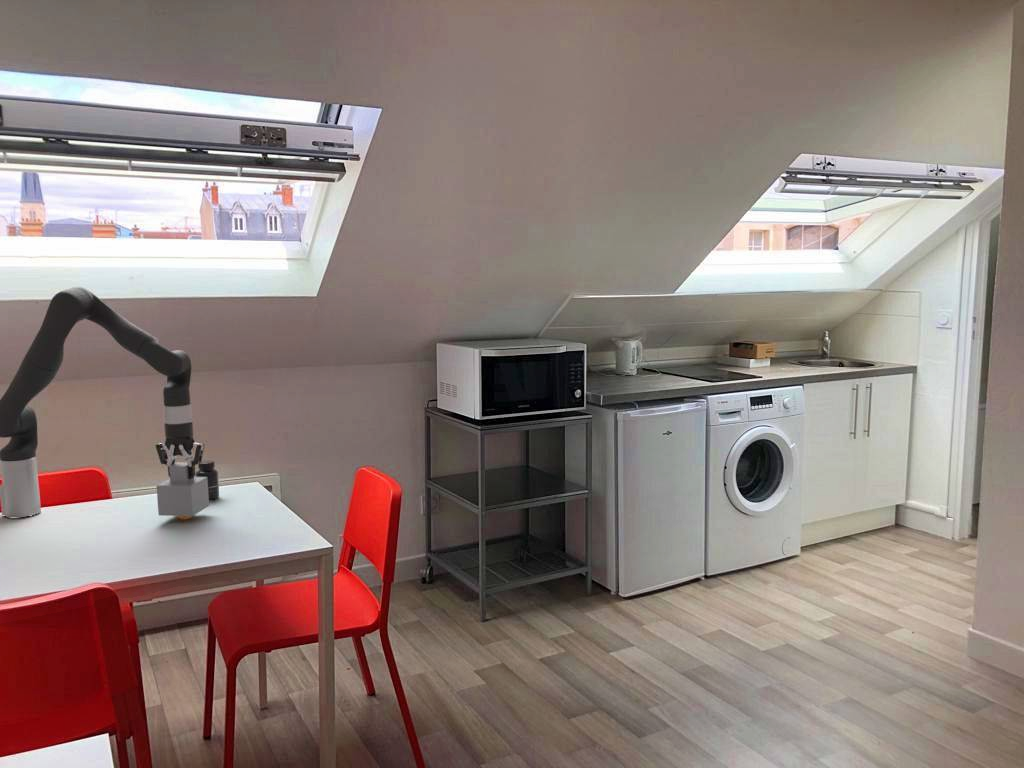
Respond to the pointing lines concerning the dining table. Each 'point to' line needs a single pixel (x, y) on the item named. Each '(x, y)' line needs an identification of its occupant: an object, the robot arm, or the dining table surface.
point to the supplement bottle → (209, 478)
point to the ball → (184, 517)
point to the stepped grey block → (182, 493)
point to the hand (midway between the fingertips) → (182, 478)
